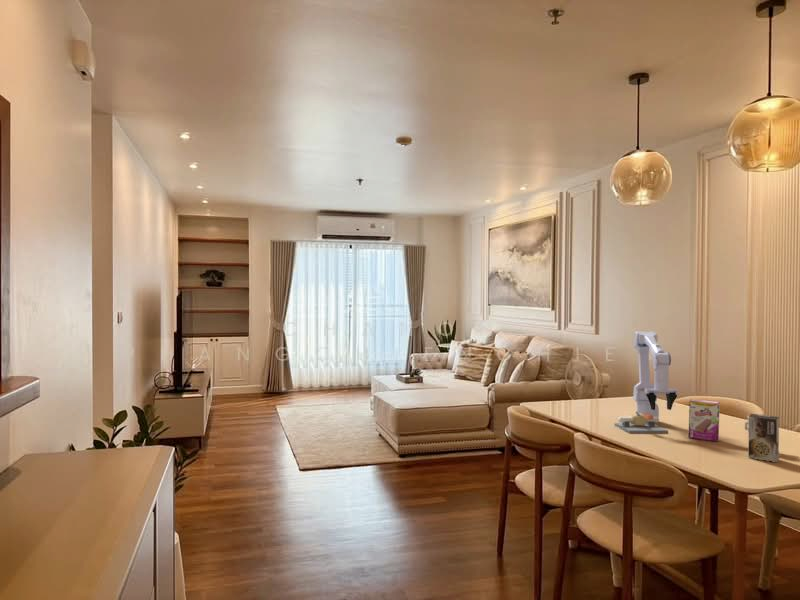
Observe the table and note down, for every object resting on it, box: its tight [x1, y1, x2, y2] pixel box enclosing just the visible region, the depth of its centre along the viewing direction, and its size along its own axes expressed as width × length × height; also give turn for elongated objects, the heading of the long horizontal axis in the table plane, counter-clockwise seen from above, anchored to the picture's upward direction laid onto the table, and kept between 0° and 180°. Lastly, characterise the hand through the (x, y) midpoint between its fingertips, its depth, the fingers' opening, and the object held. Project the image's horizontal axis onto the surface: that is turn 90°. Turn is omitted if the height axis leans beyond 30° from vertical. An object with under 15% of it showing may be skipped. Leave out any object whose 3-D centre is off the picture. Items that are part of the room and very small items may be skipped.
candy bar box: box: [688, 398, 721, 443], centre depth 226 cm, size 11×5×16 cm, turn 56°
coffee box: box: [747, 413, 780, 463], centre depth 199 cm, size 9×6×16 cm
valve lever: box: [635, 410, 653, 420], centre depth 240 cm, size 12×2×2 cm, turn 3°
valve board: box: [614, 413, 669, 434], centre depth 242 cm, size 18×14×6 cm
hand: (661, 409), depth 237 cm, fingers open, 7 cm apart
